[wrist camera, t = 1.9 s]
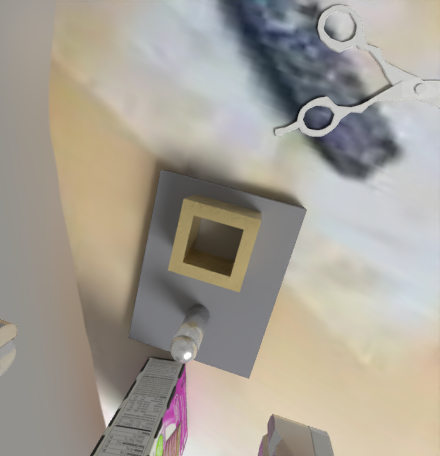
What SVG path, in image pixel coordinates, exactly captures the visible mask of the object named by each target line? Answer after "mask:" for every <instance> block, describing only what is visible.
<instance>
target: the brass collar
mask: <svg viewBox="0 0 440 456" xmlns="http://www.w3.org/2000/svg"><path fill="white" fill-rule="evenodd" d="M261 214H262V212H258V211H255V210H251V209H248V208H244V207H240V206H237V205H233V204H230V203H226V202H222V201H219V200H215V199H212V198H208V197H205V196H201V195H197V194H195V195H192V196H189V197H187V198H184V199H183V204H182V209H181V213H180V218H179V222H178V227H177V231H176V236H175V240H174V245H173V249H172V254H171V258H170V263H169V267H168V271H172V272H175V273H178V274H181V275H185V276H188V277H191V278H194V279H197V280H201V281H204V282H207V283H210V284H214V285H217V286H220V287H223V288H227V289H230V290H233V291H236V292H239V293H240V290H241V286H242V283H243V280H244V276H245V273H246V270H247V266H248V263H249V260H250V256H251V253H252V250H253V246H254V243H255V240H256V237H257V233H258V230H259V227H260V223H261ZM202 218H205V219H208V220H212V221H215V222H219V223H222V224H226V225H229V226H233V227H236V228H240V229H243V230H244V231H243V235H242V238H241V242H240V245H239V249H238V252H237V256H236V259H235V261H234V260H230V259H227V258H223V257H220V256H217V255H213V254H210V253H207V252H203V251H200V250H197V249H194V248H195V244H196V240H197V236H198V232H199V228H200V224H201V219H202Z"/></svg>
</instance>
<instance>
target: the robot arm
mask: <svg viewBox="0 0 440 456" xmlns="http://www.w3.org/2000/svg"><path fill="white" fill-rule="evenodd" d="M16 336H17V326H15V325H14V324H12V323H9V322H6V321H4V320H1V319H0V376H1V375H2V374H3V373H4V372H5V371H6V370H7V369H8V367H9V366H10V365H11V364H12V362H13V359H14V357H15V354H16V347H15V345H14V343H13V341H12V340H13V339H14V338H15V337H16ZM258 456H334V453H333V449H332V445H331V441H330V437H329V435H328V434H327V432H325V431H322V430H319V429H316V428H313V427H310V426H307V425H304V424H301V423H298V422H295V421H292V420H289V419H286V418H283V417H280V416H277V415H274V414H272V416H271V417H270V419H269V422H268V434H266V435H265V436H263V438H262V441H261V444H260V448H259V453H258Z"/></svg>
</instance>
